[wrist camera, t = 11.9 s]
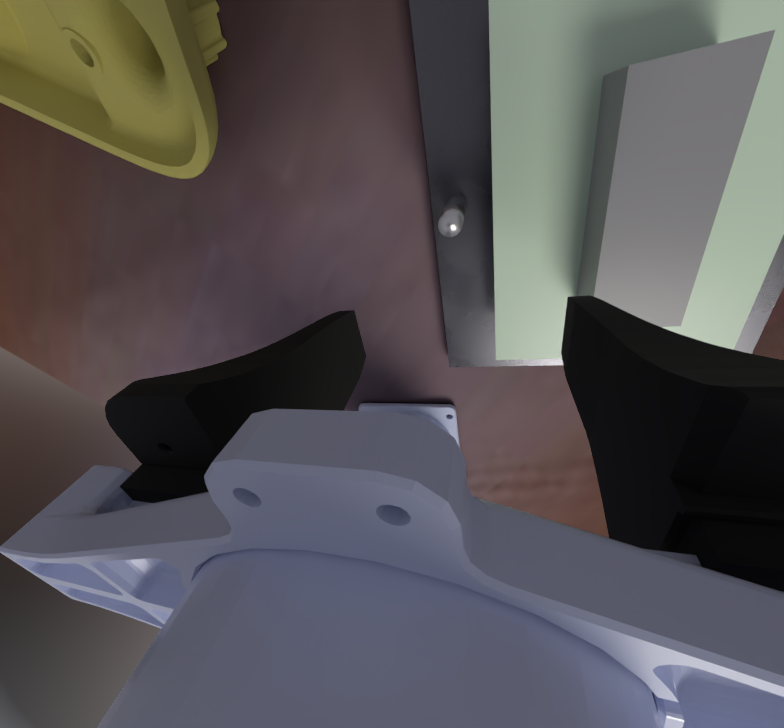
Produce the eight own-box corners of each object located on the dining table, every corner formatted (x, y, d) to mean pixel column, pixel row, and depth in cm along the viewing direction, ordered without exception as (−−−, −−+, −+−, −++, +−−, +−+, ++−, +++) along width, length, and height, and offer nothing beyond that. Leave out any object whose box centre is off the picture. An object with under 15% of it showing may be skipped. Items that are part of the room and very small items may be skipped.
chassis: (737, 351, 19) (802, 412, 15) (450, 358, 24) (443, 406, 20) (1047, -349, 8) (1588, -806, 4) (404, -77, 13) (366, -167, 9)
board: (721, 344, 15) (768, 389, 13) (495, 351, 18) (496, 389, 16) (926, -159, 8) (1142, -298, 5) (488, -11, 11) (487, -53, 8)
